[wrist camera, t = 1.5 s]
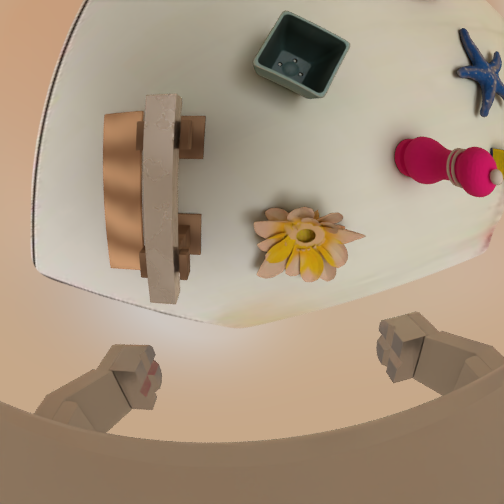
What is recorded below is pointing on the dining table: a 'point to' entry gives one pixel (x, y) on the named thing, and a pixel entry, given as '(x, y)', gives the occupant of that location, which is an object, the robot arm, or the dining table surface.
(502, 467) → the robot arm
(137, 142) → the walnut post
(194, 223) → the walnut post
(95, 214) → the dining table surface
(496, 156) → the supplement box
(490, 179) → the pepper mill
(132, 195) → the light wood flat board
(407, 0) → the dining table surface
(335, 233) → the decorative flower
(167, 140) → the steel rail
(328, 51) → the flower pot
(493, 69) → the starfish
